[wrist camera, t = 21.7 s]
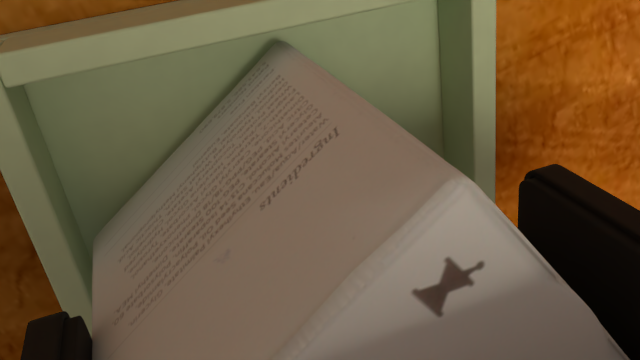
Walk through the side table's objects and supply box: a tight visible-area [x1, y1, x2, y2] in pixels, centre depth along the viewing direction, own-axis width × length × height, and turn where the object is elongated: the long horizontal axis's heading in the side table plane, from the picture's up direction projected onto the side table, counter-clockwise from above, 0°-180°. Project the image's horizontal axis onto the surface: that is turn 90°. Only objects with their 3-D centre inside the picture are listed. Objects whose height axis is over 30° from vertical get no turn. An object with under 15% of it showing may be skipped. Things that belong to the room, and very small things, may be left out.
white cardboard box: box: [92, 41, 630, 360], centre depth 11 cm, size 6×6×7 cm
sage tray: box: [0, 0, 496, 338], centre depth 14 cm, size 10×10×2 cm
